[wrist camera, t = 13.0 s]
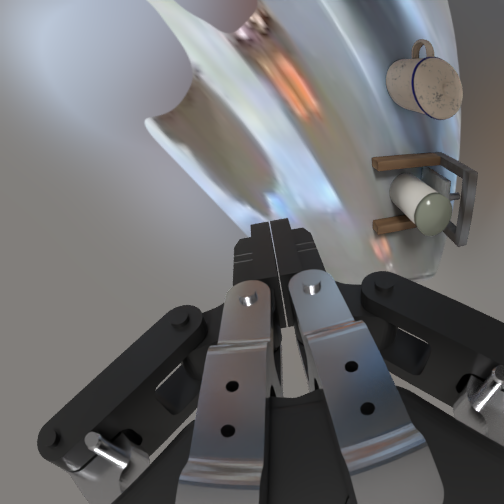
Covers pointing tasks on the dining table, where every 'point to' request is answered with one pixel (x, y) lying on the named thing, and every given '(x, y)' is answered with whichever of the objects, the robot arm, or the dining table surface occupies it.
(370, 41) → the dining table surface
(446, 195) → the pusher
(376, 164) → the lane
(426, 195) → the jar
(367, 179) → the dining table surface
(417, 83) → the teacup with lid
